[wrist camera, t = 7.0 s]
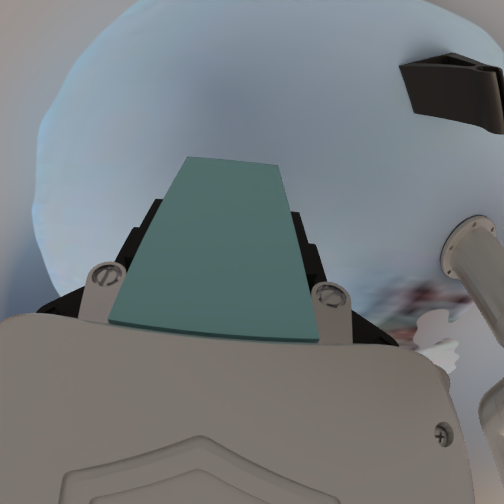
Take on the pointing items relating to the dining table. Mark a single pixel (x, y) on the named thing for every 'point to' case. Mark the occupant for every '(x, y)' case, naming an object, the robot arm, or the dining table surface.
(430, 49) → the dining table surface
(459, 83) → the phone stand
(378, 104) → the dining table surface
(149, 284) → the square peg
